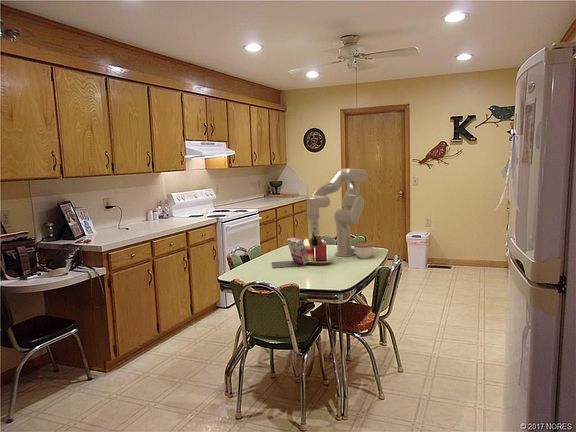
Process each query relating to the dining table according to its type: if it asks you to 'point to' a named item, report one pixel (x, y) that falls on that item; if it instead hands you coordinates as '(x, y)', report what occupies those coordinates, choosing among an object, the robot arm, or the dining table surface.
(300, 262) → the candy bar box
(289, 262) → the charcoal mat
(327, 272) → the dining table surface
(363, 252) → the lidded bowl
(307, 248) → the turner
